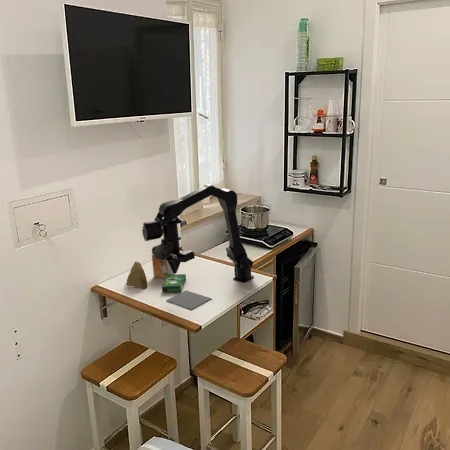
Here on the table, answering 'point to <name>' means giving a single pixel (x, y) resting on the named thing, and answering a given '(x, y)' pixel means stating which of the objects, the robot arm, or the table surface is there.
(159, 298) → the table surface
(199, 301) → the mat
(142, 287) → the rock
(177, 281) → the coffee box
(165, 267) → the small box
